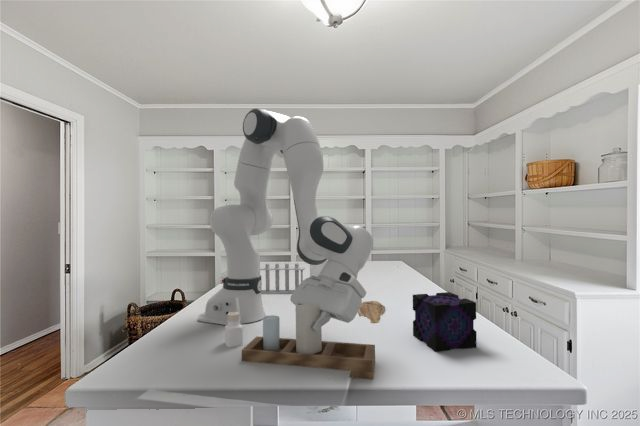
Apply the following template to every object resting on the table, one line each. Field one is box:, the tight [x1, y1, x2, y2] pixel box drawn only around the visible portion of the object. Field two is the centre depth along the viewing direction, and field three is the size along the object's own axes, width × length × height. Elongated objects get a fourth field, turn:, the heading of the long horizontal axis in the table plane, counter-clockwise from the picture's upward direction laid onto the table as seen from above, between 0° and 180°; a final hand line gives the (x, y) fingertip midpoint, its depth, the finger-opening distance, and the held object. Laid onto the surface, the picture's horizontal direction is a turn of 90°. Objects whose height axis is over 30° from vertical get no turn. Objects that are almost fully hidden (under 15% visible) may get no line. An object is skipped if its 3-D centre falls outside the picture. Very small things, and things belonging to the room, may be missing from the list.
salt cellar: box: [262, 314, 281, 352], centre depth 84 cm, size 4×4×9 cm
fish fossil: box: [357, 300, 386, 324], centre depth 123 cm, size 26×10×1 cm, turn 177°
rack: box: [241, 336, 376, 380], centre depth 82 cm, size 30×9×4 cm, turn 78°
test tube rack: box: [260, 262, 306, 295], centre depth 155 cm, size 25×4×13 cm, turn 88°
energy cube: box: [412, 291, 477, 353], centre depth 95 cm, size 12×12×12 cm
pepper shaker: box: [224, 312, 244, 348], centre depth 91 cm, size 4×4×10 cm
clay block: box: [295, 303, 323, 354], centre depth 82 cm, size 4×5×11 cm
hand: (306, 327), depth 81 cm, fingers closed on clay block, 3 cm apart
